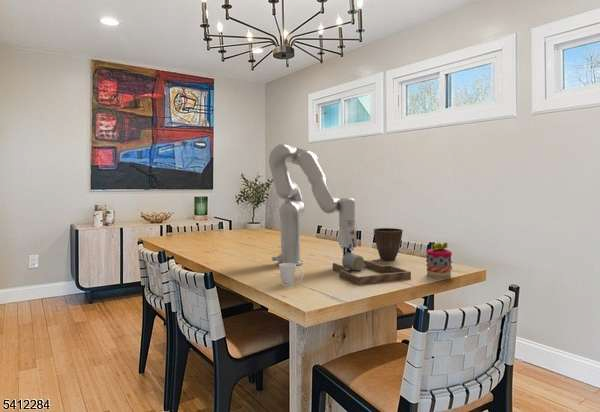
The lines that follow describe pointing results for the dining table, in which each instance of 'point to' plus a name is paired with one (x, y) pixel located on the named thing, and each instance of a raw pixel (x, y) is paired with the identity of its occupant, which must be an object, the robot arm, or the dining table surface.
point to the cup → (288, 273)
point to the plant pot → (388, 242)
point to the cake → (439, 261)
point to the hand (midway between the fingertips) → (346, 261)
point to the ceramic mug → (353, 261)
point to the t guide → (392, 276)
